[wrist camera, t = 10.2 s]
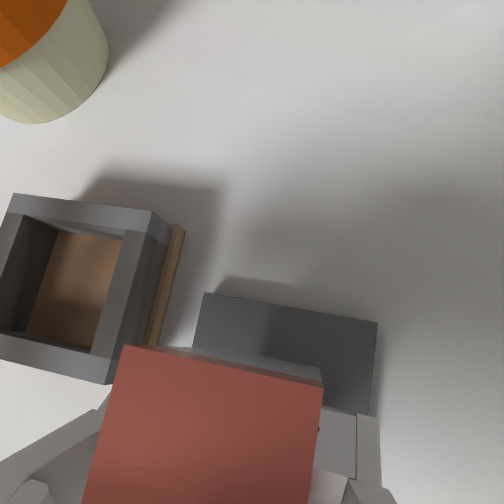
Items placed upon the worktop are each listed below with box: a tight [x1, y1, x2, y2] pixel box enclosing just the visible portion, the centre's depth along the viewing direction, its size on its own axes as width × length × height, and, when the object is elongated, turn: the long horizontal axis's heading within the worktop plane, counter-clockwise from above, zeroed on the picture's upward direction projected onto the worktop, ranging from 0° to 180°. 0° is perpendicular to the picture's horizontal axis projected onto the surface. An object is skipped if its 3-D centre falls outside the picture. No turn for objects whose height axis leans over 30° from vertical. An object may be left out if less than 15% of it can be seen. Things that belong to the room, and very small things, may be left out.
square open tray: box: [0, 193, 185, 385], centre depth 18 cm, size 8×8×4 cm
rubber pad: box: [192, 292, 378, 415], centre depth 16 cm, size 8×8×1 cm
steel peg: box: [81, 344, 324, 504], centre depth 10 cm, size 4×4×9 cm
